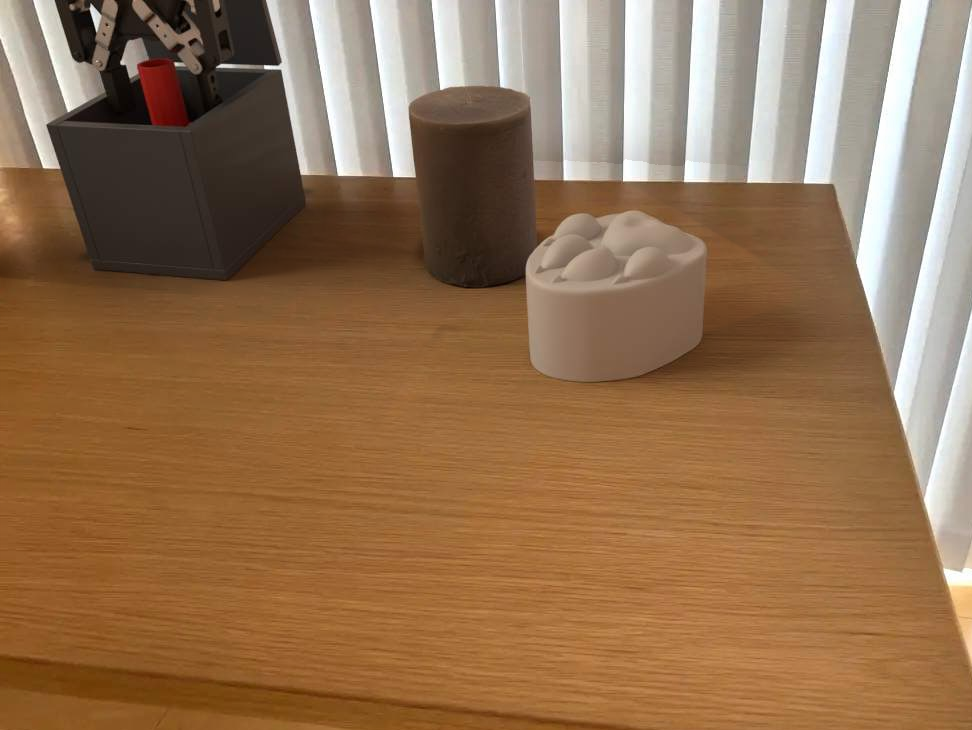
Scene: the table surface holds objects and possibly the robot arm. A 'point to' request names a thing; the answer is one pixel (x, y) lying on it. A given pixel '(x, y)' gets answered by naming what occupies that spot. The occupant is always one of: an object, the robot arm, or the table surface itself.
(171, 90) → the bottle
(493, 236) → the pillar candle
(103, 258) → the bin
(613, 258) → the lumpy-topped squat cylinder
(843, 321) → the table surface
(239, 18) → the lid
